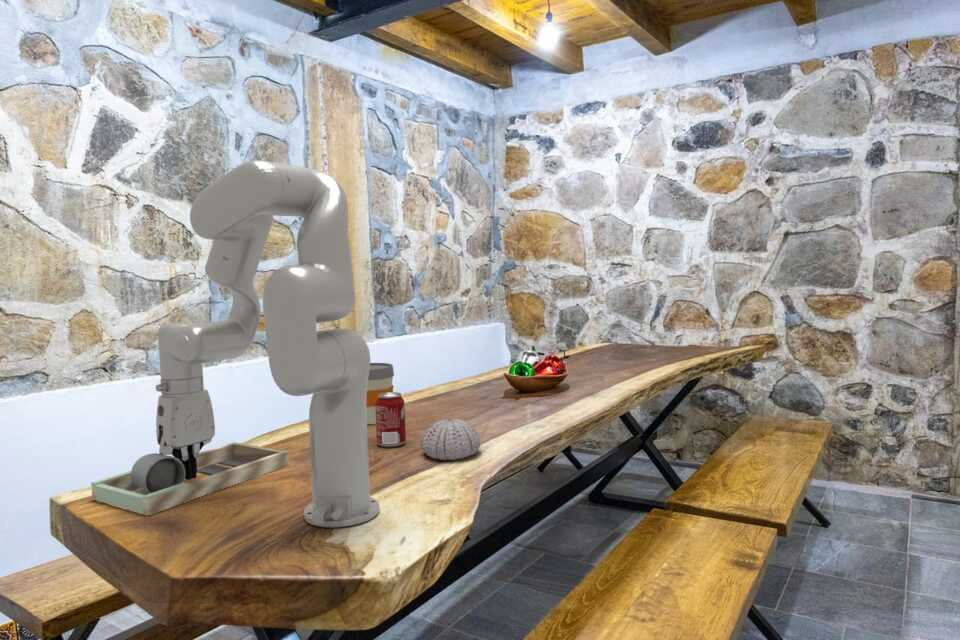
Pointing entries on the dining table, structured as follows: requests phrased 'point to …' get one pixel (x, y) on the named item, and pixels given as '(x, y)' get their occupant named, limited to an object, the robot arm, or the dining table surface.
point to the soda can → (390, 419)
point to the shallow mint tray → (126, 494)
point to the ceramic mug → (155, 473)
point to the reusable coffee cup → (377, 386)
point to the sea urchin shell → (450, 440)
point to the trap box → (215, 473)
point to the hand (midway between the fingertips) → (188, 477)
